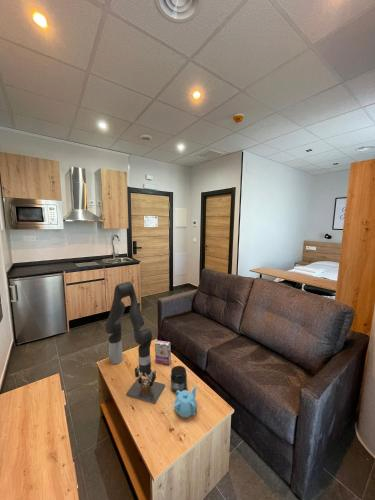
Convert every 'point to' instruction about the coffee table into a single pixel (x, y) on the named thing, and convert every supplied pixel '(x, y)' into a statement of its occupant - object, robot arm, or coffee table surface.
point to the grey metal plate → (149, 396)
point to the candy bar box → (163, 352)
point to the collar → (145, 386)
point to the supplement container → (178, 378)
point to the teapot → (185, 403)
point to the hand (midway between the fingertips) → (145, 384)
